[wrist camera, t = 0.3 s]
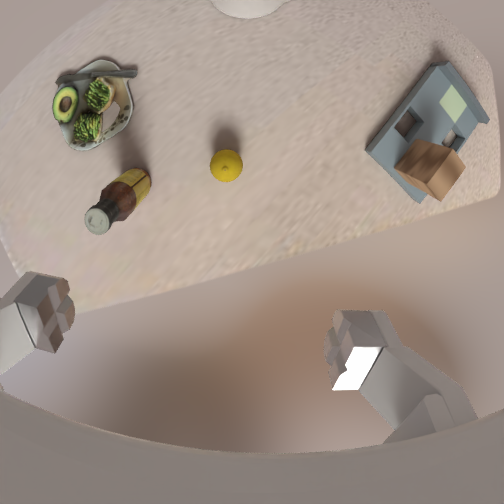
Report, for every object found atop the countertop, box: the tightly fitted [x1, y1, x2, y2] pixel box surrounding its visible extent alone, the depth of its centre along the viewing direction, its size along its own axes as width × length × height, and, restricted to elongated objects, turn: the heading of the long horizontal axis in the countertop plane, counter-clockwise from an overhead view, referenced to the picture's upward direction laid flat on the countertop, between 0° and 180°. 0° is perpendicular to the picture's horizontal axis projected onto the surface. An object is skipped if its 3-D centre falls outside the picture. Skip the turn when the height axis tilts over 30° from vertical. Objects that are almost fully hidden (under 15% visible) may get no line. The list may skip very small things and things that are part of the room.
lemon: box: [210, 149, 243, 182], centre depth 49 cm, size 6×6×8 cm
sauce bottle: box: [85, 168, 151, 235], centre depth 44 cm, size 6×6×20 cm
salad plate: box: [53, 60, 137, 151], centre depth 43 cm, size 19×18×5 cm
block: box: [394, 139, 466, 201], centre depth 44 cm, size 8×4×12 cm, turn 144°
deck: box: [365, 61, 490, 204], centre depth 47 cm, size 26×16×6 cm, turn 144°
